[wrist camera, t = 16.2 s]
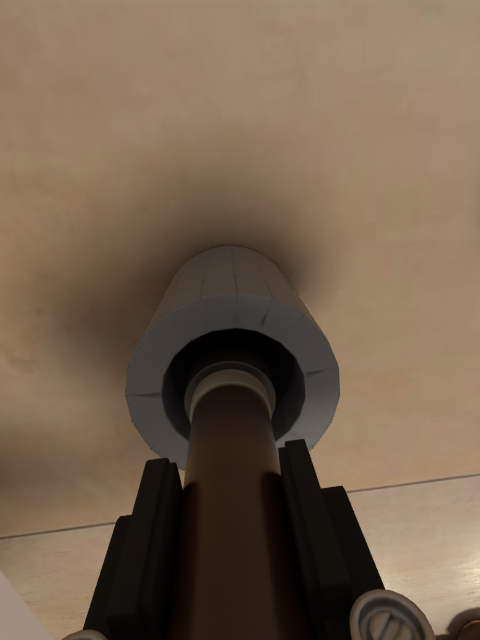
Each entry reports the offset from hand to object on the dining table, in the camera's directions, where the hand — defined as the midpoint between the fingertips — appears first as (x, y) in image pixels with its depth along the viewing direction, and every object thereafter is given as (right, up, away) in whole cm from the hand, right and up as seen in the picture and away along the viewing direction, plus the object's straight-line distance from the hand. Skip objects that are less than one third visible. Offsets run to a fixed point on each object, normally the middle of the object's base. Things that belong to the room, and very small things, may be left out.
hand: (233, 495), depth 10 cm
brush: (0, +3, +9) cm, 10 cm away
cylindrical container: (0, +6, +15) cm, 16 cm away
